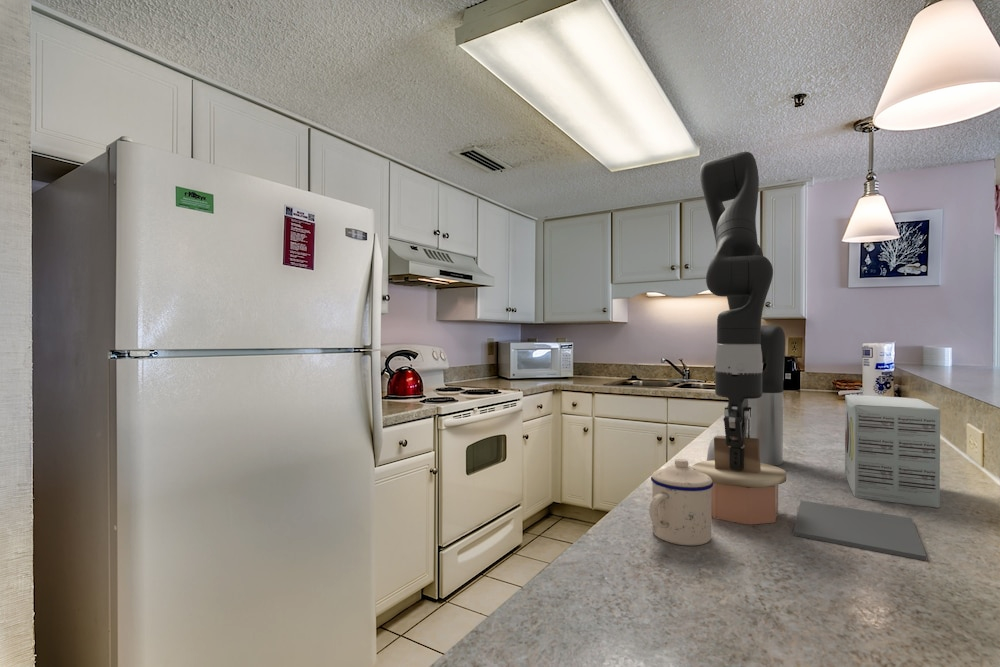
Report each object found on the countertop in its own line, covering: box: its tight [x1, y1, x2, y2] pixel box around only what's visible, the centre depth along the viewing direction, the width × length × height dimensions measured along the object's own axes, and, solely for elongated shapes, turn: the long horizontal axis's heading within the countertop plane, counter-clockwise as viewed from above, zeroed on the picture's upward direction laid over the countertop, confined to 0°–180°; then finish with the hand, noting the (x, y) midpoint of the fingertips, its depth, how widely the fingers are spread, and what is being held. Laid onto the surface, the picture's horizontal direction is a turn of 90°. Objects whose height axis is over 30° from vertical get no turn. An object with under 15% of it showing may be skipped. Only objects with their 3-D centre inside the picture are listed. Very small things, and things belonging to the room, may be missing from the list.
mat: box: [792, 499, 927, 561], centre depth 83 cm, size 18×16×1 cm
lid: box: [691, 435, 787, 487], centre depth 91 cm, size 15×15×6 cm
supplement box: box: [844, 394, 941, 509], centre depth 103 cm, size 17×13×18 cm
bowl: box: [711, 483, 779, 526], centre depth 91 cm, size 12×12×6 cm
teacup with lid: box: [649, 458, 713, 546], centre depth 79 cm, size 12×9×12 cm
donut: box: [706, 434, 725, 461], centre depth 108 cm, size 10×4×10 cm, turn 143°
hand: (738, 467), depth 91 cm, fingers closed on lid
